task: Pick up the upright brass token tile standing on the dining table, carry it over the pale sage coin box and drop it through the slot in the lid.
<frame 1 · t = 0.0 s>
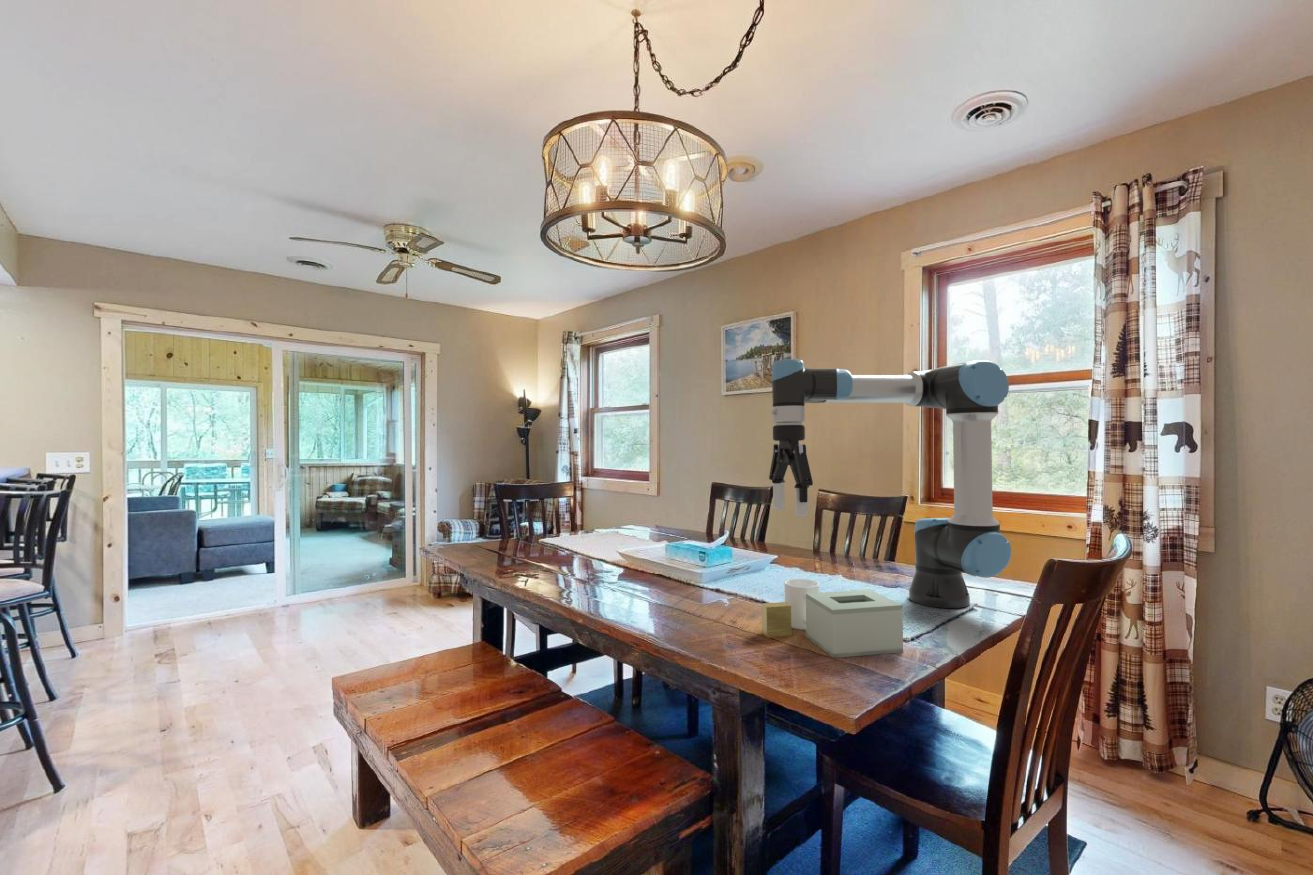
hand: (789, 512, 136), 28 cm above the table, fingers open, 13 cm apart
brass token: (776, 634, 133), on the table
coin box: (852, 644, 126), on the table
mug: (804, 628, 137), on the table
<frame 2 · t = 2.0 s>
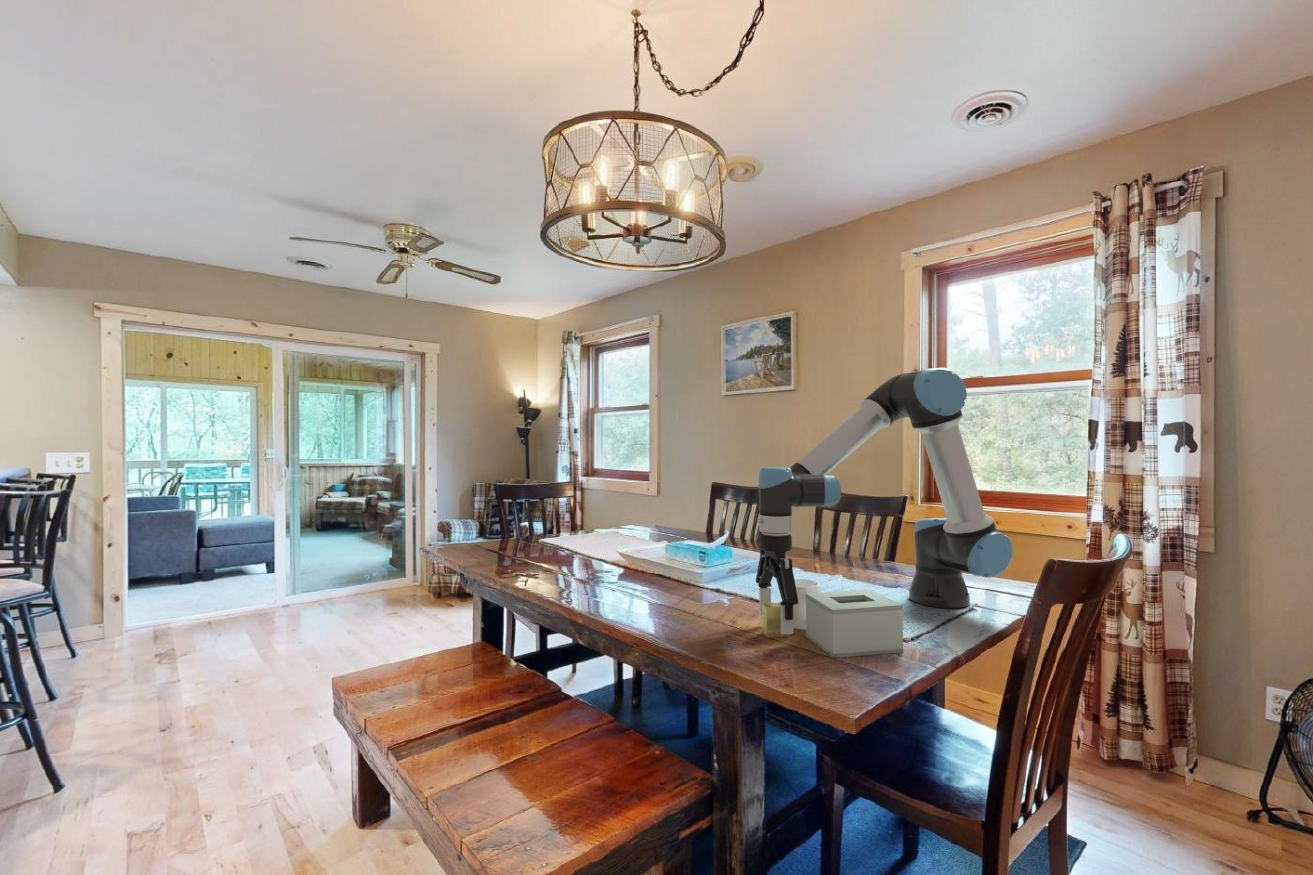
hand: (775, 623, 132), 2 cm above the table, fingers open, 13 cm apart
nothing on the table moved.
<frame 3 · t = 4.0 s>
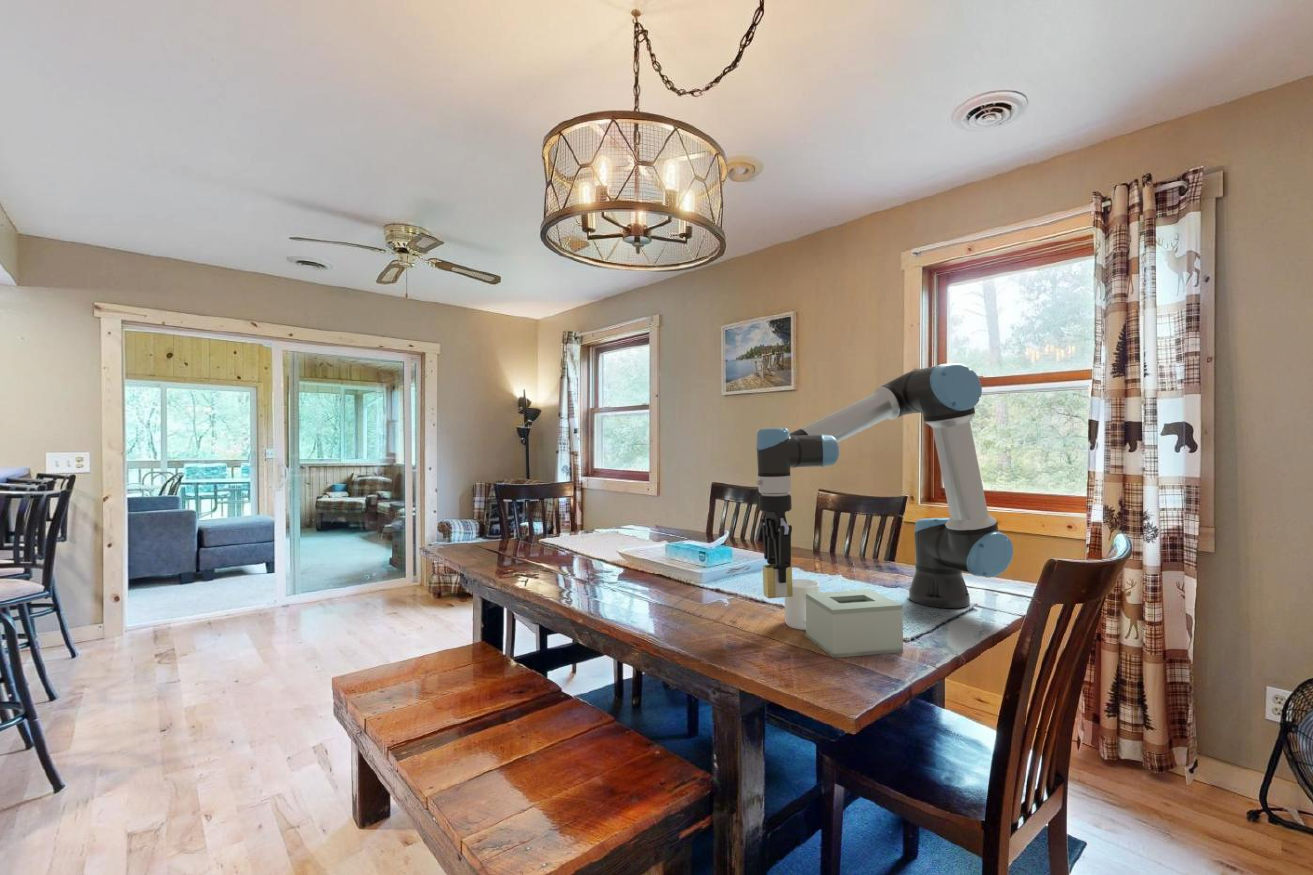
hand: (778, 593, 133), 9 cm above the table, fingers closed on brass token, 3 cm apart
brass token: (778, 595, 133), point 9 cm above the table, touching gripper
everything else where it was.
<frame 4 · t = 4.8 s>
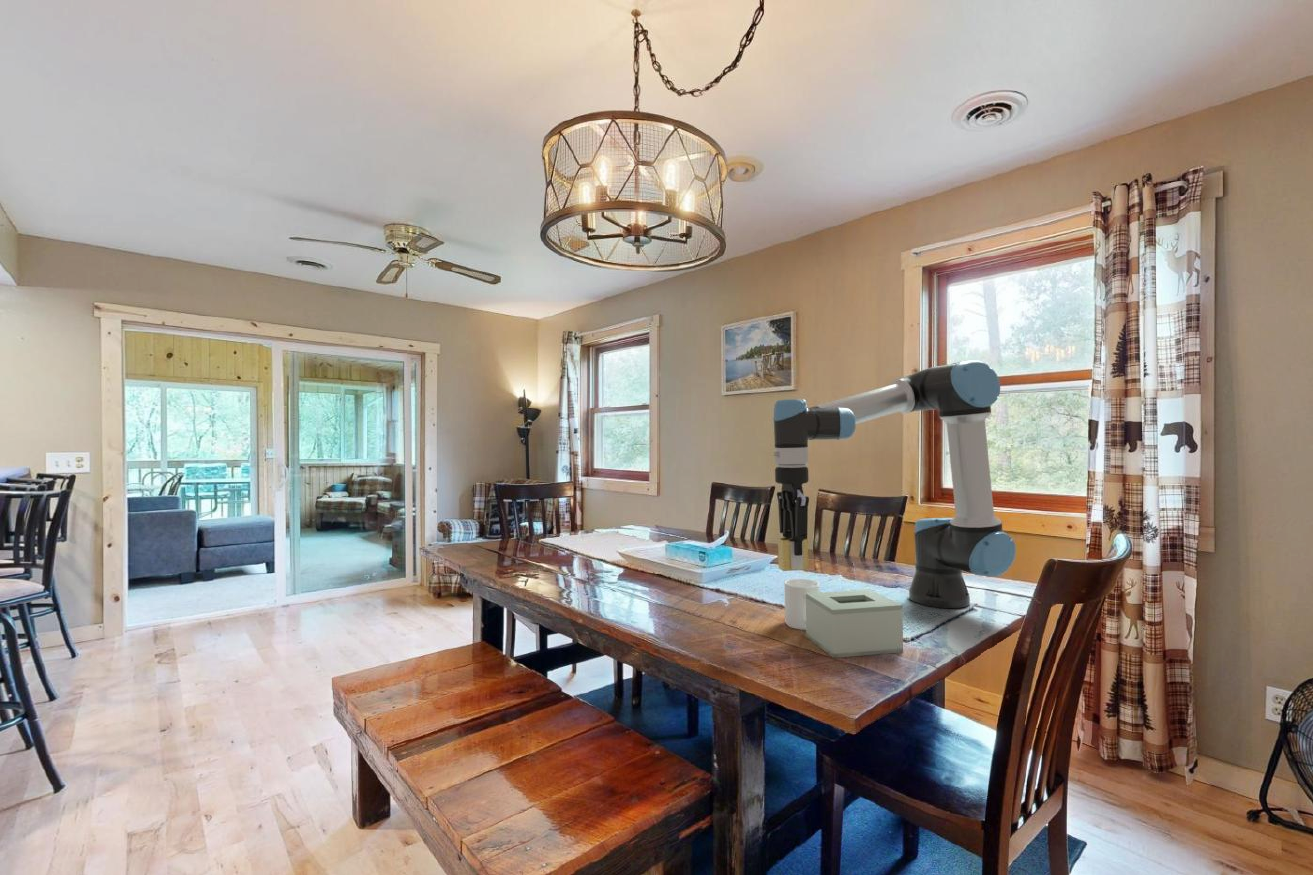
hand: (793, 567, 131), 16 cm above the table, fingers closed on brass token, 3 cm apart
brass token: (793, 568, 131), point 16 cm above the table, touching gripper
everything else where it was.
when the fingers open (11 cm above the table, at t = 6.1 s): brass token drops 10 cm, resting on coin box.
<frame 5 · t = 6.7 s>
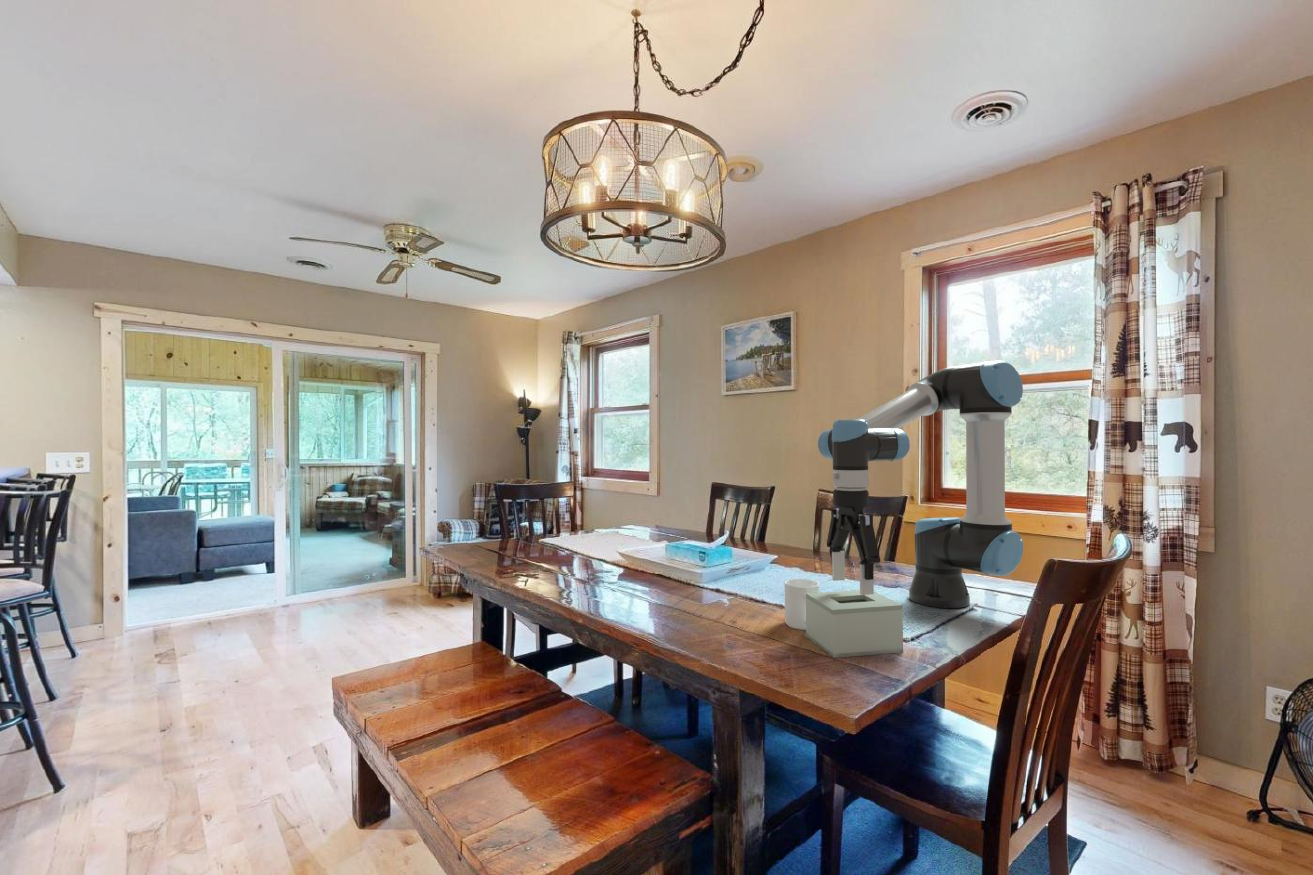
hand: (852, 586, 126), 13 cm above the table, fingers open, 11 cm apart
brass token: (853, 640, 125), point 1 cm above the table, touching coin box
everything else where it was.
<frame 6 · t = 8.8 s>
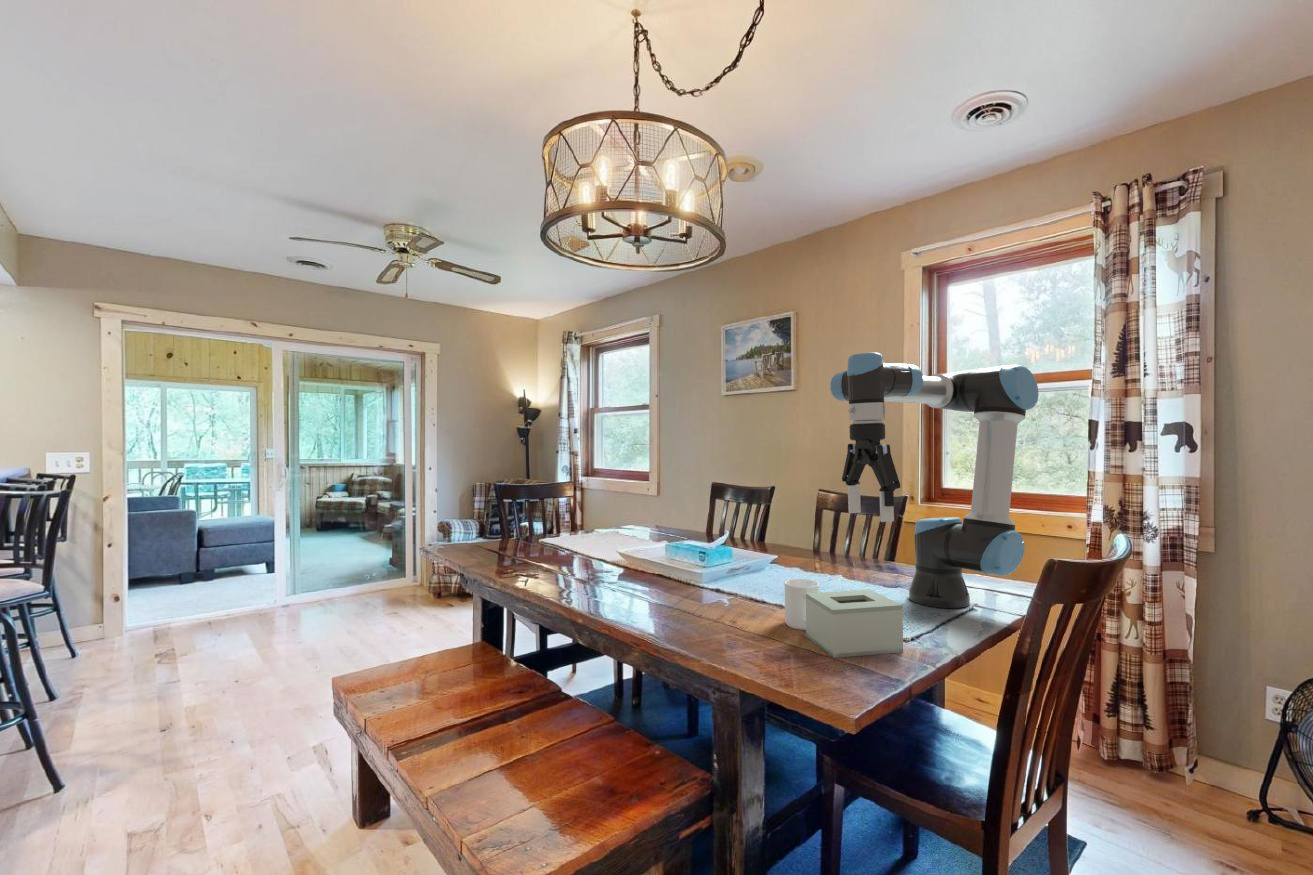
hand: (870, 517, 127), 28 cm above the table, fingers open, 13 cm apart
nothing on the table moved.
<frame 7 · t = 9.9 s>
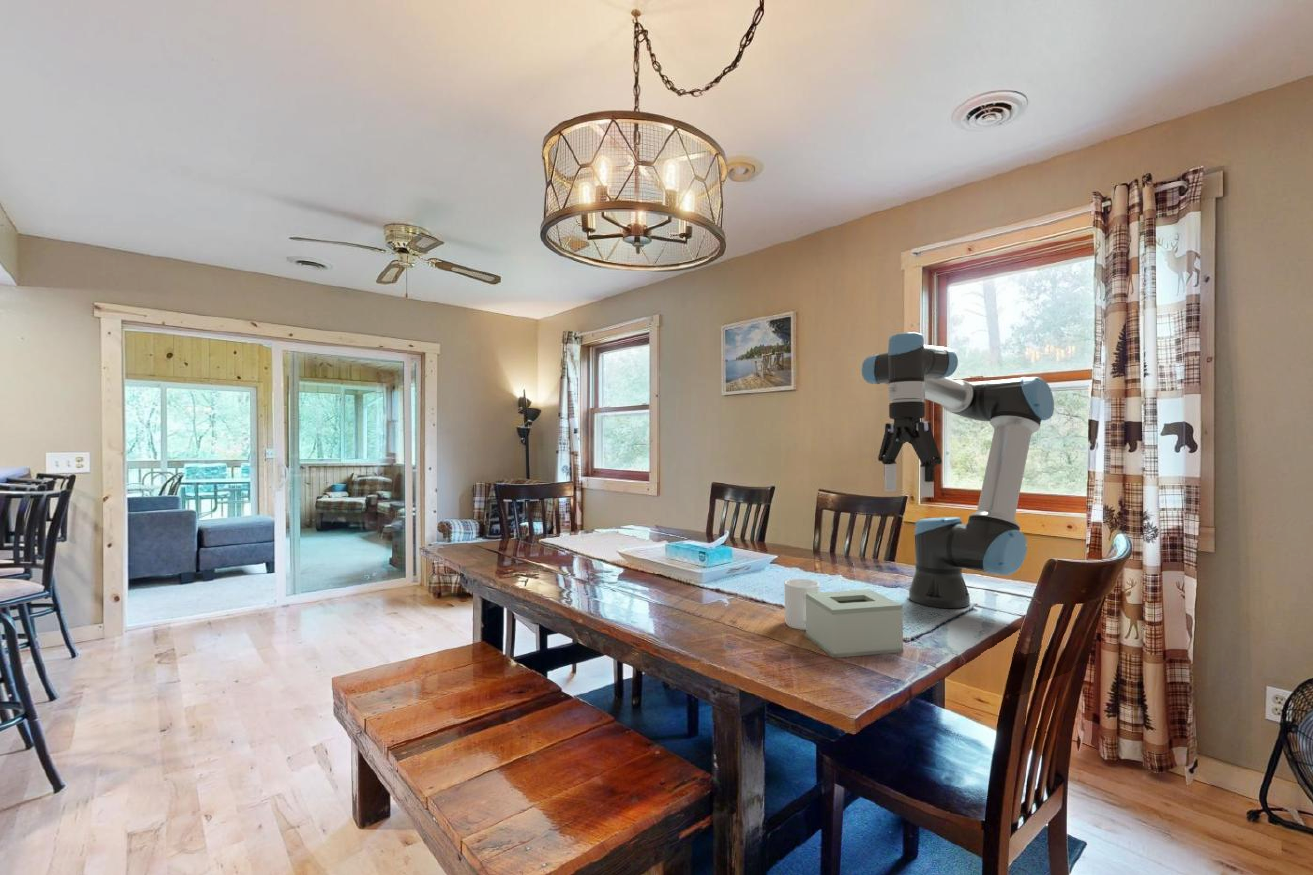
hand: (907, 494, 130), 33 cm above the table, fingers open, 13 cm apart
nothing on the table moved.
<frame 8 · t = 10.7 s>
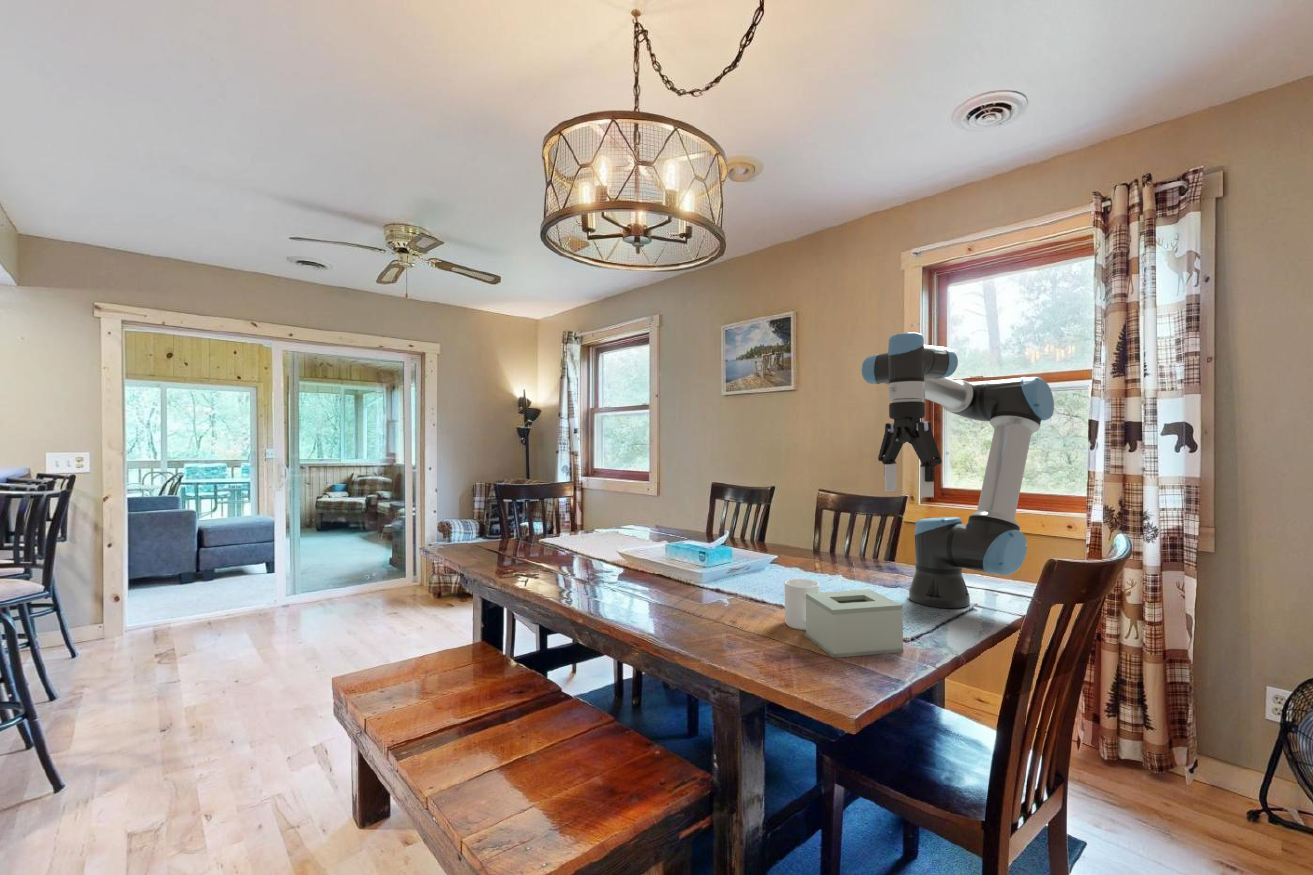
hand: (907, 494, 130), 33 cm above the table, fingers open, 13 cm apart
nothing on the table moved.
at the end: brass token inside the target area on the coin box (0.2 cm from its centre), point 0.8 cm above the coin box's base; the gripper is holding nothing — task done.
